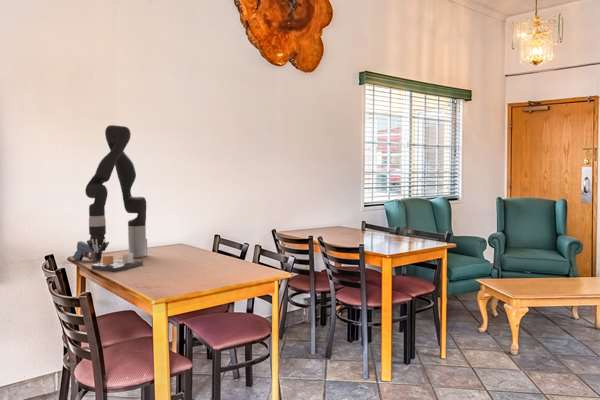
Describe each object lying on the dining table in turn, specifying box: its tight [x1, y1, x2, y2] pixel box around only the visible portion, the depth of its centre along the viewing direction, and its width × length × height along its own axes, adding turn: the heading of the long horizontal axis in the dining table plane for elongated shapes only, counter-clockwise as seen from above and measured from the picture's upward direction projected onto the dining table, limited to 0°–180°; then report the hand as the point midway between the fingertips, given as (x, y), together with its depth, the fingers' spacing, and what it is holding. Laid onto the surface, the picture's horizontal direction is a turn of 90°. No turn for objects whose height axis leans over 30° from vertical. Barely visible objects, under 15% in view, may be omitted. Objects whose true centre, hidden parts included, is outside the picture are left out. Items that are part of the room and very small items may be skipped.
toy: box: [72, 240, 103, 262], centre depth 256 cm, size 3×16×10 cm, turn 77°
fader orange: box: [102, 254, 114, 266], centre depth 234 cm, size 4×3×5 cm
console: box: [90, 258, 144, 273], centre depth 240 cm, size 18×16×2 cm
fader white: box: [122, 252, 134, 263], centre depth 239 cm, size 4×3×5 cm
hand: (98, 259), depth 237 cm, fingers closed
